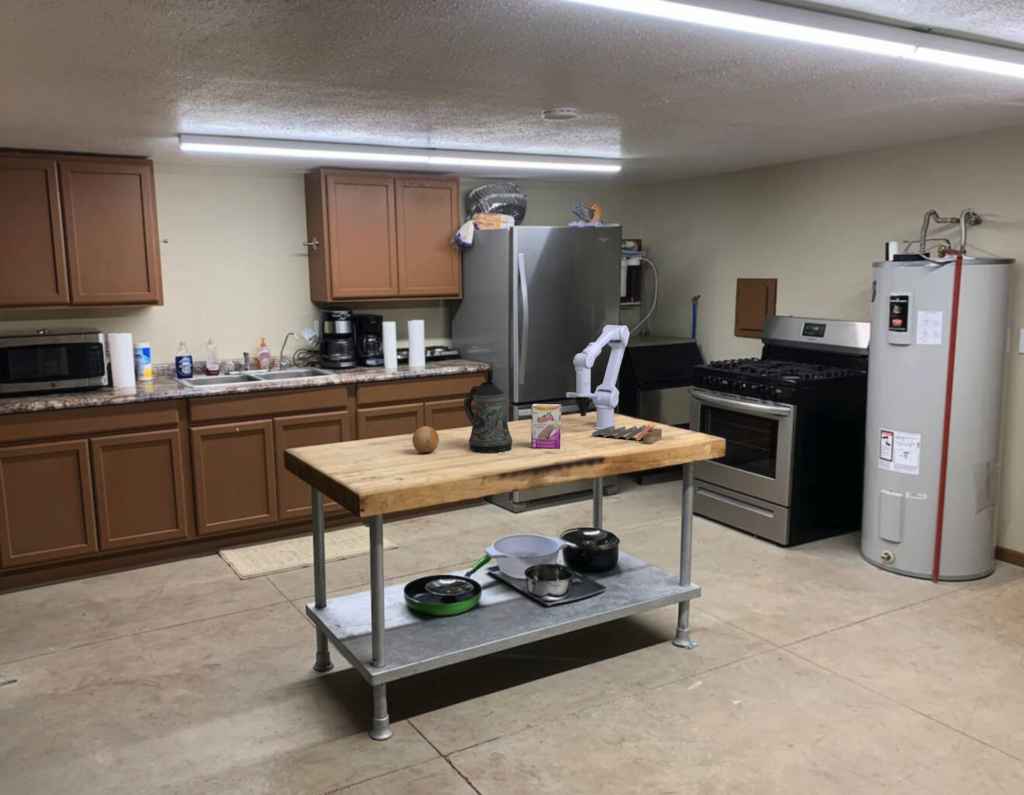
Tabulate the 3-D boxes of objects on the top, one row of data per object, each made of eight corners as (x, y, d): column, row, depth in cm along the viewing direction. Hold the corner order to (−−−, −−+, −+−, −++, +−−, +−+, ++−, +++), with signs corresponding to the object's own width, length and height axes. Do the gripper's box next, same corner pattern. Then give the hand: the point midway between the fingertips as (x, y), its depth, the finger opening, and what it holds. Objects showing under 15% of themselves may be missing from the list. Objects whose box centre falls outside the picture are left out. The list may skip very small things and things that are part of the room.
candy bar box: (531, 448, 303) (530, 405, 300) (532, 445, 307) (531, 403, 305) (560, 449, 301) (560, 406, 299) (561, 446, 306) (561, 403, 304)
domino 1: (591, 432, 323) (609, 427, 319) (596, 430, 328) (614, 425, 323) (593, 436, 323) (610, 431, 319) (598, 434, 328) (615, 429, 323)
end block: (643, 443, 309) (643, 433, 308) (654, 438, 319) (654, 428, 319) (650, 444, 308) (651, 434, 307) (661, 438, 318) (661, 428, 317)
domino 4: (624, 436, 316) (640, 426, 312) (629, 434, 321) (645, 424, 317) (626, 440, 316) (642, 430, 312) (631, 437, 320) (647, 428, 316)
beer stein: (508, 454, 294) (508, 386, 290) (456, 452, 297) (455, 386, 293) (515, 444, 310) (515, 380, 306) (466, 443, 313) (465, 379, 309)
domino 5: (635, 438, 314) (648, 424, 311) (639, 435, 319) (652, 422, 315) (638, 441, 314) (651, 427, 310) (642, 438, 318) (655, 425, 315)
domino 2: (602, 433, 321) (620, 428, 317) (607, 431, 325) (624, 426, 321) (603, 437, 321) (621, 432, 317) (608, 435, 325) (626, 429, 321)
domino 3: (614, 435, 318) (631, 427, 314) (619, 433, 323) (635, 425, 319) (616, 439, 318) (632, 431, 314) (620, 436, 323) (637, 429, 319)
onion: (419, 457, 290) (419, 430, 289) (408, 452, 299) (407, 425, 297) (443, 453, 295) (443, 427, 294) (431, 448, 304) (431, 422, 302)
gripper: (563, 383, 325) (563, 416, 327) (595, 385, 318) (595, 419, 320) (570, 380, 331) (570, 413, 333) (603, 383, 324) (602, 416, 326)
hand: (583, 415), depth 327 cm, fingers closed
